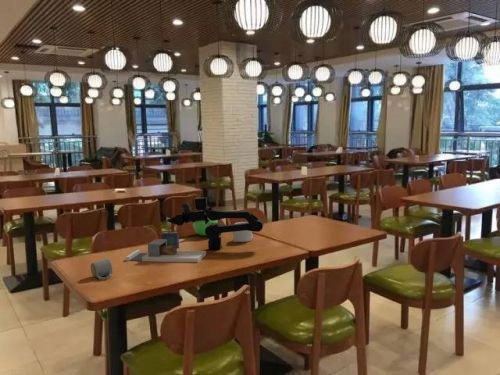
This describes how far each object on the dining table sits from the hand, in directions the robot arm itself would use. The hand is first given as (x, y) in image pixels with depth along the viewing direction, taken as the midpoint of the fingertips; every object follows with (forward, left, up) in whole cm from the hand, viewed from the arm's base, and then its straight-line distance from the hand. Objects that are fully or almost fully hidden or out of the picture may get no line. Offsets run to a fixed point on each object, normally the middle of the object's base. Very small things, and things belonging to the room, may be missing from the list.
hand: (169, 219), depth 248 cm
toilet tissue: (-37, -21, -17) cm, 46 cm away
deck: (-4, +18, -17) cm, 25 cm away
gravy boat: (-10, -33, -17) cm, 39 cm away
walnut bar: (-2, +18, -15) cm, 23 cm away
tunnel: (+1, +18, -15) cm, 23 cm away
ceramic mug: (+15, +50, -17) cm, 55 cm away
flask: (+1, -1, -17) cm, 17 cm away
